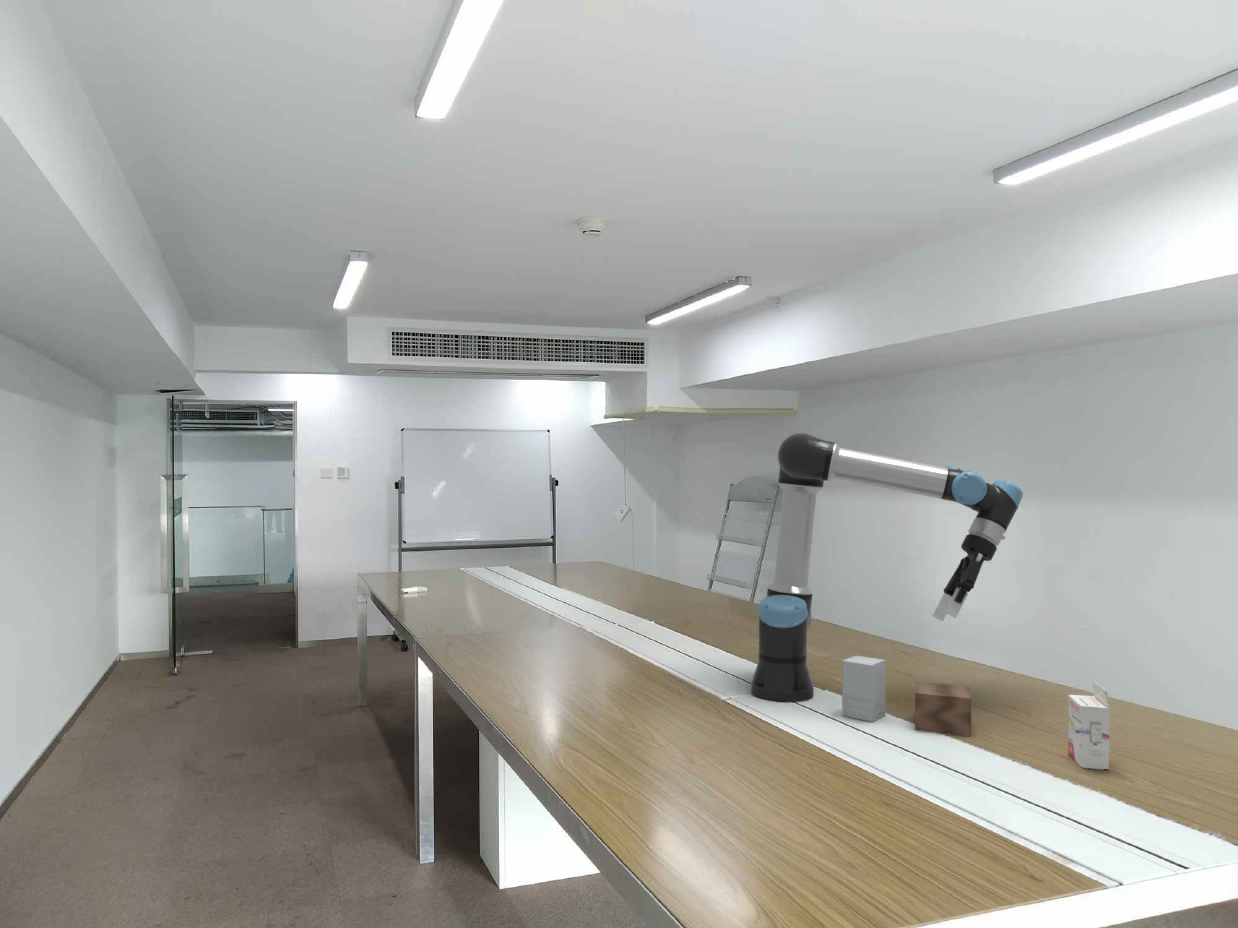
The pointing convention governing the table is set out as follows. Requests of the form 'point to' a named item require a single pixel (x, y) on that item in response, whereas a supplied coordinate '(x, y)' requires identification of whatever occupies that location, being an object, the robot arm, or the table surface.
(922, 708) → the walnut block
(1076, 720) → the ink cartridge box
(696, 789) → the table surface
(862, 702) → the supplement box
